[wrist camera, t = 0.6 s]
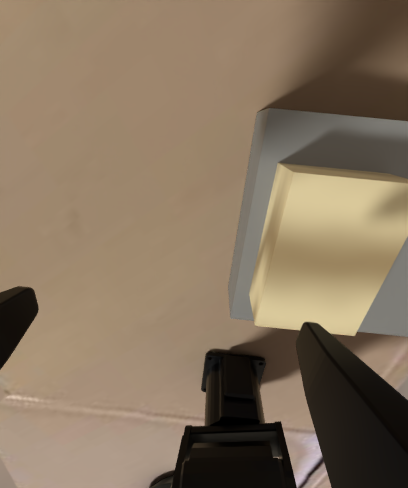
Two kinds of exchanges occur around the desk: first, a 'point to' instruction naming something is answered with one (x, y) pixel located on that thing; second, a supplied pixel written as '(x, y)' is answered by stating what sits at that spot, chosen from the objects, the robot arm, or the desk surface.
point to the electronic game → (164, 483)
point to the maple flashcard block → (327, 246)
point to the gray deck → (331, 156)
